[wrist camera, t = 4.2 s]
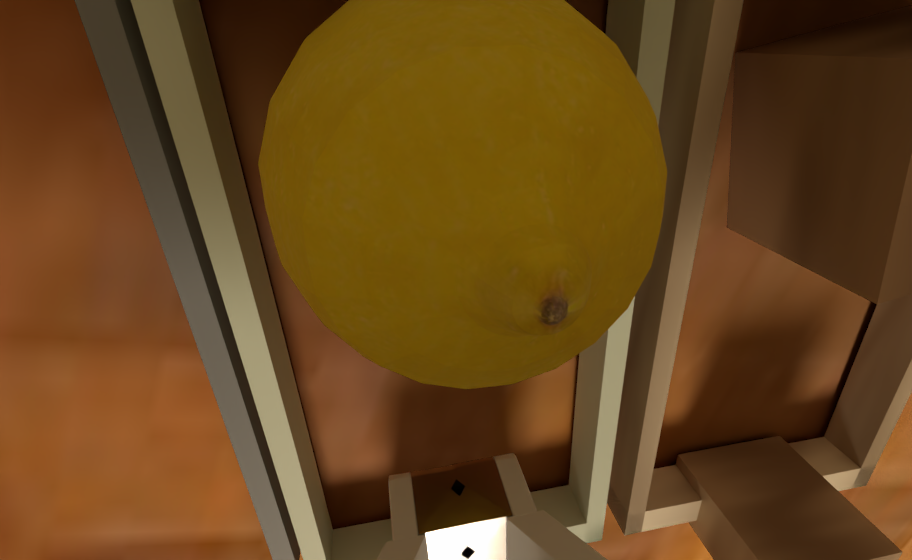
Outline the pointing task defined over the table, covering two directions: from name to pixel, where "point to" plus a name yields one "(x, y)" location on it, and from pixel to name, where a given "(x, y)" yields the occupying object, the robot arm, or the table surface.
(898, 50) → the walnut cube
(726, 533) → the frame
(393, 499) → the robot arm
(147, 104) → the lane guides
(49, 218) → the table surface
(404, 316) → the fruit
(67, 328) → the table surface
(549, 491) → the frame
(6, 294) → the table surface
